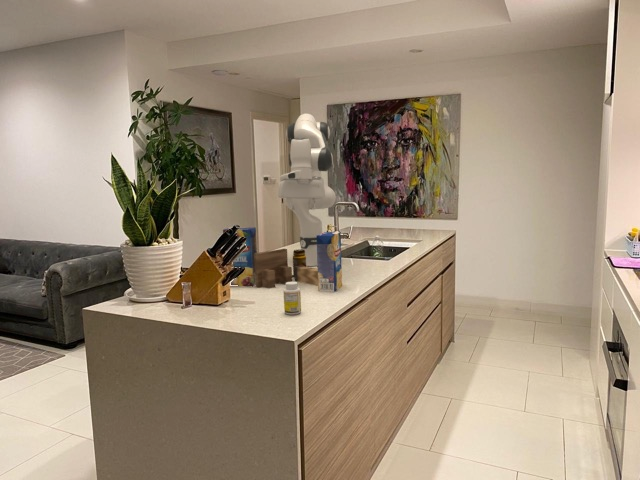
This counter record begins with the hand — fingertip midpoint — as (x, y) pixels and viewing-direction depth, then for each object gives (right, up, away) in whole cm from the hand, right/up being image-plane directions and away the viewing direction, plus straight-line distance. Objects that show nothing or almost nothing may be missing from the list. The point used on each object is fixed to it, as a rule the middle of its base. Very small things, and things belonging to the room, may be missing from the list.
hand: (302, 209), depth 204 cm
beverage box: (+11, -32, -7) cm, 35 cm away
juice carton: (-26, -32, +5) cm, 41 cm away
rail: (+3, -31, +5) cm, 31 cm away
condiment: (-3, -29, +18) cm, 35 cm away
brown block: (-12, -31, +3) cm, 34 cm away
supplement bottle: (-2, -37, -41) cm, 55 cm away
